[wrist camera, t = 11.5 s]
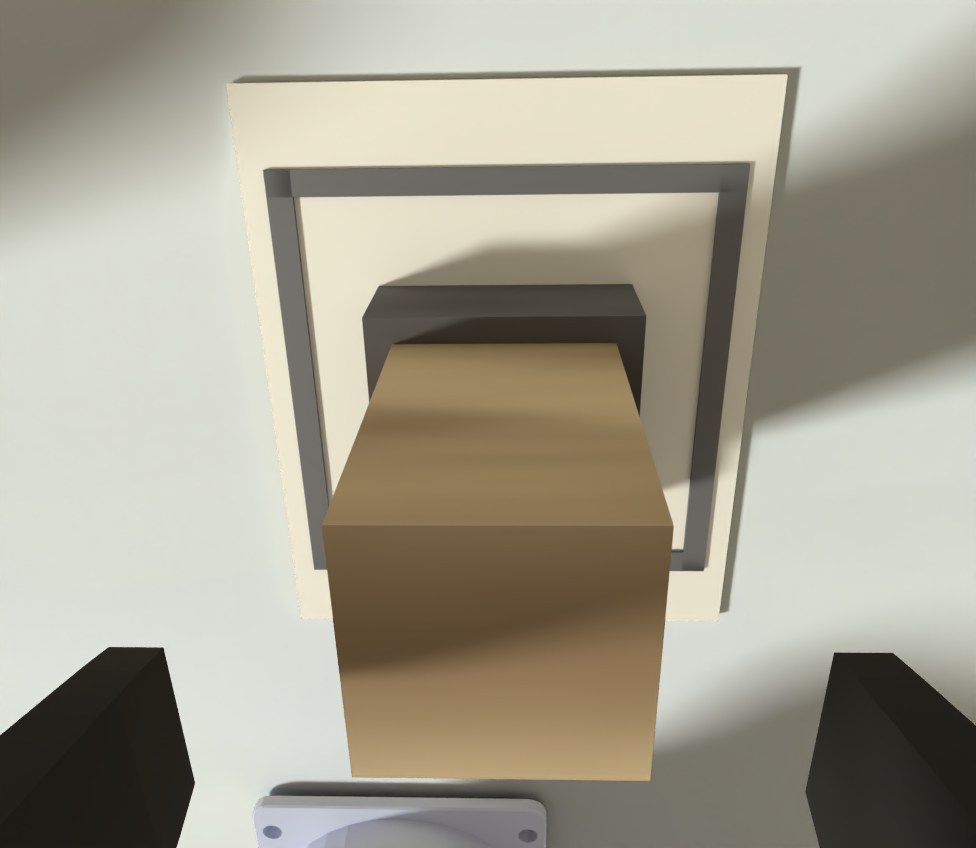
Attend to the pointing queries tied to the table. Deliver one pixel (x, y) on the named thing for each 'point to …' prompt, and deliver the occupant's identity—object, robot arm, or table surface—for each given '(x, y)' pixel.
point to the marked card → (513, 256)
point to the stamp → (501, 538)
